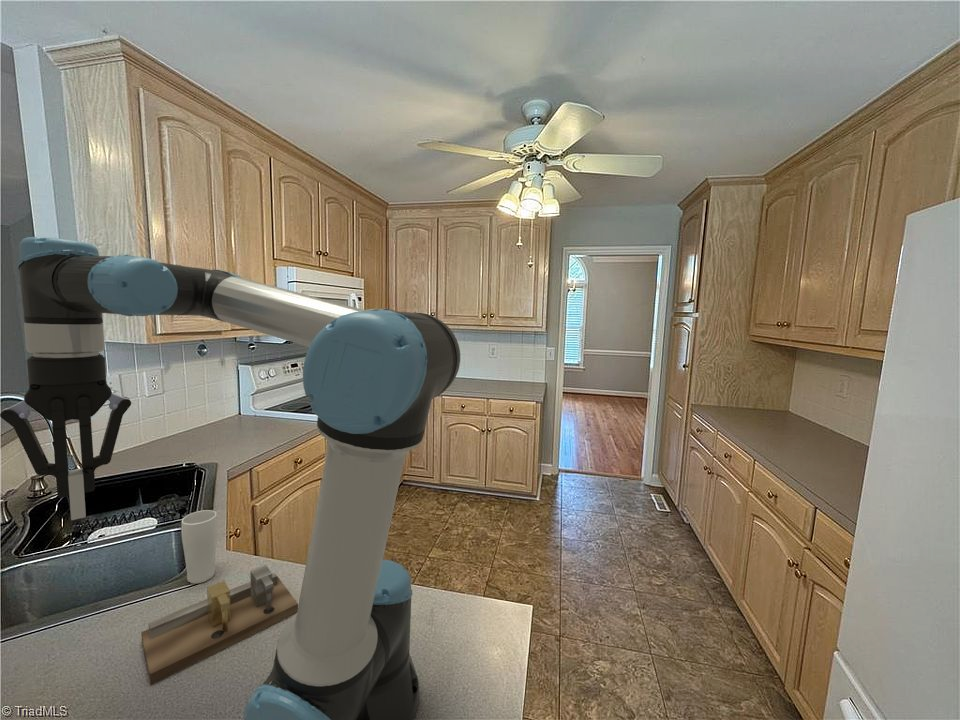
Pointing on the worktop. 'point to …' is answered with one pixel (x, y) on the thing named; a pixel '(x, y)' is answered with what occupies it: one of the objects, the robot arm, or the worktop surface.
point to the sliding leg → (219, 604)
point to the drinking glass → (199, 545)
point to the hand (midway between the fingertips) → (78, 514)
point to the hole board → (196, 639)
